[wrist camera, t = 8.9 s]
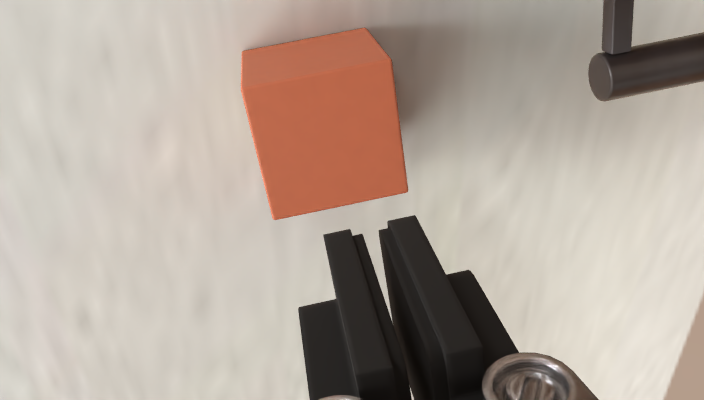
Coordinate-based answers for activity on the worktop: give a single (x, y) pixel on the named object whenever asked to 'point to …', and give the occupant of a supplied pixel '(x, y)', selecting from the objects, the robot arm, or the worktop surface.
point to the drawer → (641, 58)
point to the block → (324, 122)
